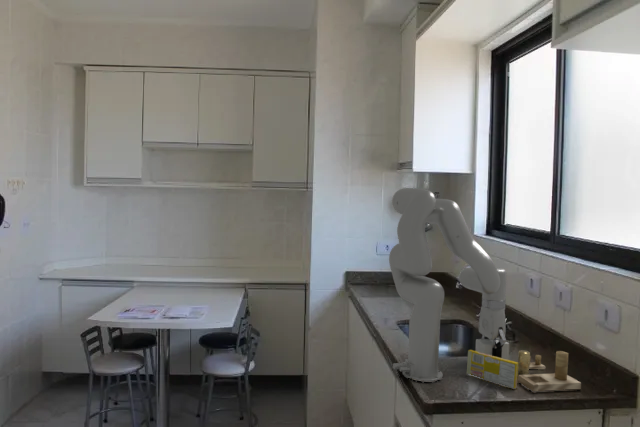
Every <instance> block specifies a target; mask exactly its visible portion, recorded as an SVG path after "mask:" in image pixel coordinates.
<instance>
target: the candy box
mask: <svg viewBox="0 0 640 427" xmlns="http://www.w3.org/2000/svg"><path fill="white" fill-rule="evenodd" d="M466 362H467V364H466V365H467V366H466V374H467V373H468V374H471V375H474V376H477V377H480V378H483V379H486V380H489V381H492V382H495V383H499V384H502V385H505V386H508V387H511V388H516V387H517V388H518V361H514V360H510V359H509V360H507V359H503V358H499V357H495V356H492V355H488V354H484V353H481V352H477V351H476V350H473V349H468V350H467V361H466Z"/></svg>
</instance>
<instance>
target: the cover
mask: <svg viewBox="0 0 640 427" xmlns="http://www.w3.org/2000/svg"><path fill="white" fill-rule="evenodd" d="M498 342H499V340H496V344H497V343H498ZM492 348H494V346H493V340H491V339H482V338H476V339H475V351H477V352H481V353H484V354H488V355H492ZM502 358H503V359H507V360H510V342H508V341H506V343H505V344H504V345H503V348H502Z"/></svg>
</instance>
